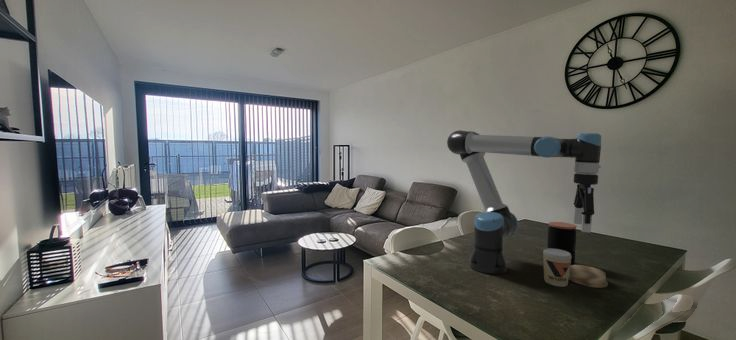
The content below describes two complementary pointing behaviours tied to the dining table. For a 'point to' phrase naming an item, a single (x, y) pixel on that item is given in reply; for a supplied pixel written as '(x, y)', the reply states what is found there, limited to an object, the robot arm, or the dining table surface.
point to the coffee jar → (562, 237)
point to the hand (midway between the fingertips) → (581, 227)
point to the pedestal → (588, 276)
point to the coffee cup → (556, 266)
